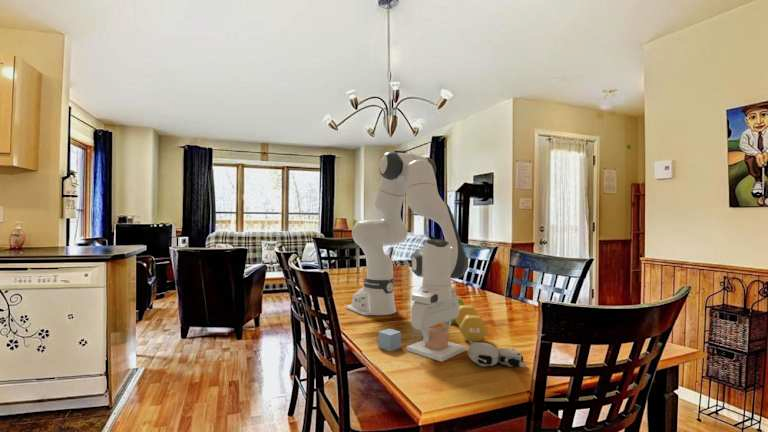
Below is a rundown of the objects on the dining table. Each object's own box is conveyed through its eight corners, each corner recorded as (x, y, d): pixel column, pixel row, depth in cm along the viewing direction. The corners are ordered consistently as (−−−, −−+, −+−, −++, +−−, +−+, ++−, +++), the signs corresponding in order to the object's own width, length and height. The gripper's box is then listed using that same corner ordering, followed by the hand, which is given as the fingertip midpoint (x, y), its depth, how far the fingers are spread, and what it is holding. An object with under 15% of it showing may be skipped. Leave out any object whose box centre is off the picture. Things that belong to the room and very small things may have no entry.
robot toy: (518, 360, 115) (466, 353, 117) (519, 345, 115) (467, 338, 117) (526, 378, 103) (468, 369, 105) (528, 360, 103) (469, 352, 105)
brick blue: (378, 347, 122) (378, 331, 122) (389, 343, 126) (389, 328, 126) (390, 351, 119) (390, 335, 119) (400, 347, 122) (401, 331, 122)
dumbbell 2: (488, 343, 128) (488, 318, 127) (459, 342, 128) (460, 317, 128) (478, 326, 146) (478, 304, 146) (453, 325, 147) (453, 304, 147)
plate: (406, 350, 120) (406, 346, 120) (431, 340, 129) (431, 336, 129) (441, 361, 111) (441, 357, 111) (466, 350, 120) (466, 346, 120)
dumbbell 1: (446, 313, 165) (446, 296, 165) (465, 314, 164) (466, 297, 164) (445, 324, 149) (445, 305, 149) (466, 325, 148) (466, 306, 148)
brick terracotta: (424, 346, 120) (425, 329, 120) (434, 342, 123) (434, 326, 123) (438, 350, 116) (438, 333, 116) (447, 346, 120) (448, 329, 120)
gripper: (447, 286, 130) (446, 328, 130) (407, 296, 115) (407, 343, 115) (464, 289, 125) (463, 332, 125) (425, 299, 110) (424, 348, 110)
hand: (436, 337), depth 120 cm, fingers open, 8 cm apart
